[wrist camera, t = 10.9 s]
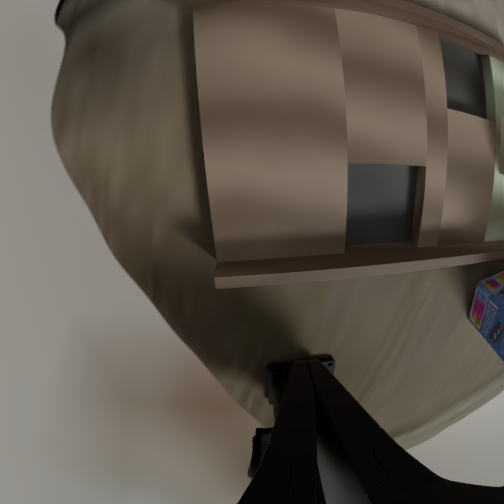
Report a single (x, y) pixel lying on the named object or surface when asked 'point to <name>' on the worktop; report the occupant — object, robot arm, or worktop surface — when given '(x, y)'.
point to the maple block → (502, 146)
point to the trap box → (347, 139)
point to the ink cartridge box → (490, 311)
